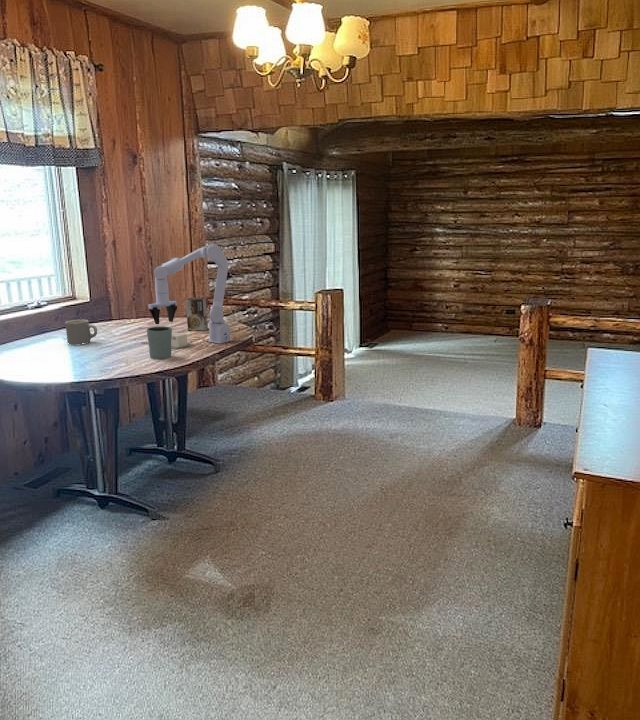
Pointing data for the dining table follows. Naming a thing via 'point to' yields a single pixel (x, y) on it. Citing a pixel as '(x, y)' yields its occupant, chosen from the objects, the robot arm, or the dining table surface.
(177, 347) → the mat
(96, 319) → the dining table surface
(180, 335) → the cream rectangular block
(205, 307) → the coffee box
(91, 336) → the coffee mug
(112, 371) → the dining table surface
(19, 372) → the dining table surface
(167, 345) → the green tapered cup
